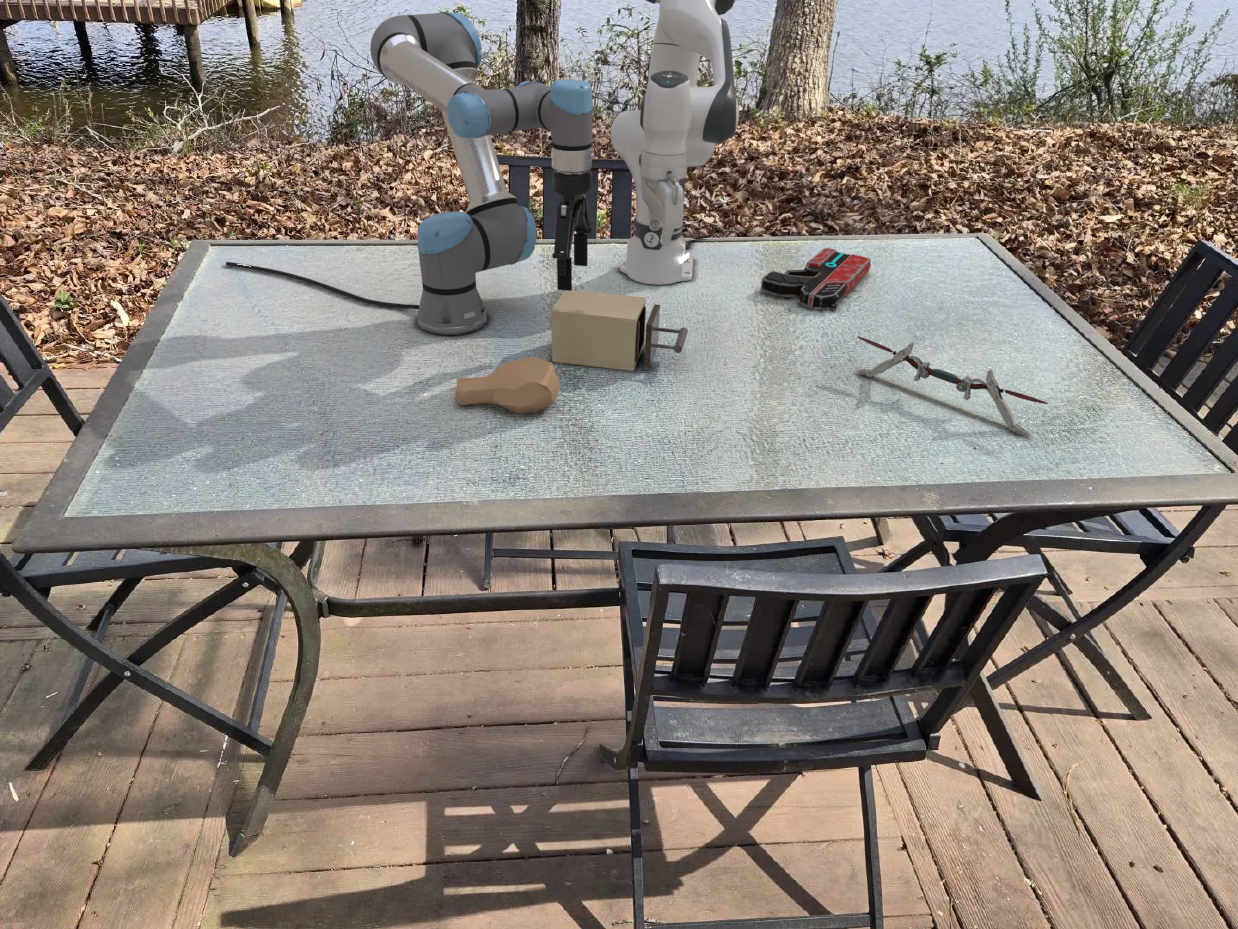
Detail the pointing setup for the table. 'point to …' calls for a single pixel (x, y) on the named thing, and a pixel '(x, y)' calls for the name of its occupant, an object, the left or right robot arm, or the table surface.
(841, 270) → the gun
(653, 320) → the drawer
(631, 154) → the right robot arm
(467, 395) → the squash
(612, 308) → the tan box
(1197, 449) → the table surface
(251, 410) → the table surface
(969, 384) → the bow
